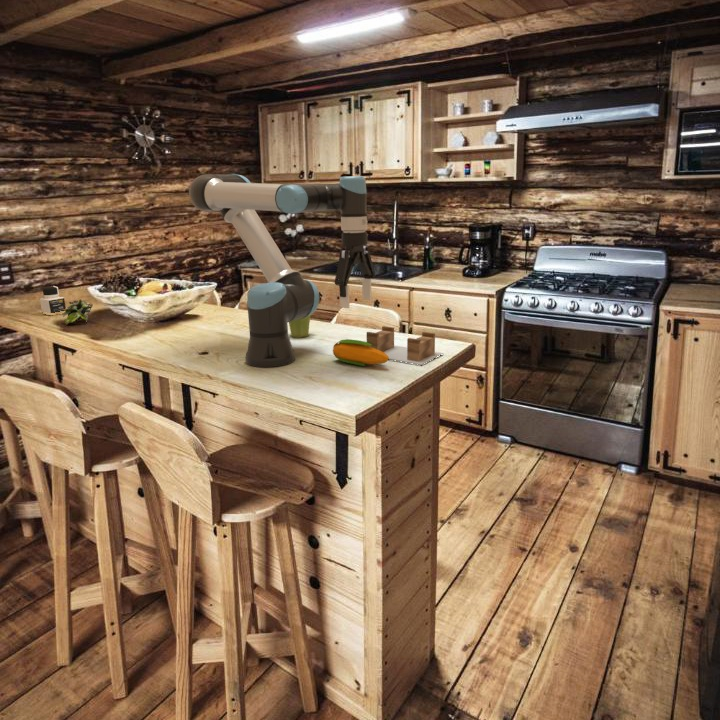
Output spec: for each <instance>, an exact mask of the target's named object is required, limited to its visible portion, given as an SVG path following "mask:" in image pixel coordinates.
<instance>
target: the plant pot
mask: <svg viewBox="0 0 720 720" xmlns="http://www.w3.org/2000/svg"><path fill="white" fill-rule="evenodd" d="M311 317H312V314H311V315H309V316H307V317H305V318H302V319H297V320H294V321H291V322H288V327H289V332H290V335H291V337H293V338H298V339H299V338H303V337H308V336H309V330H310V321H311Z"/></svg>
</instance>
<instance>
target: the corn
mask: <svg viewBox="0 0 720 720" xmlns="http://www.w3.org/2000/svg"><path fill="white" fill-rule="evenodd" d="M371 345H372V344H370V343H368V342H367V341H365V340H364V341H363V340H357V339H348V338H346V339H341V340H339V341H337V342H336V343H334V345H333V347H332V354H333V355H334V357H335V358H336V359H338V360H339V361H341V362H343V363H345V362H346V364H351V365H356V366H359V367H360V366H361V367H367V365H381V364H385V363H387V362H388V361H389V360H388V358H389V357H388V355H387V354H385V353H384V352H382V351H380V350H377V349H375V348H372V347H369V346H371Z"/></svg>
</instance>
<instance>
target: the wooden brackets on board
mask: <svg viewBox="0 0 720 720" xmlns="http://www.w3.org/2000/svg"><path fill="white" fill-rule="evenodd" d="M381 327H382V328H381V330H379V331H377V332H371V331H367V332H366V342H368V343H370V344H372V345H371V346H369V347H372V348H375V349H377V350H380V351H382V352H384V351H386V350H389V349H391V348H394V345H395V327H394V326H393V327H392V326H385V325H383V326H381ZM406 341H407V346H406V347H407V360H413V361H421V360H423V359H425V358H427V357H429V356H431V355H433V354H435V352H436V351H435V350H436V342H435V341H436V333H435V332H428V331H422V332H421V336H418V337H417V338H413V337H408V338H407V339H406Z"/></svg>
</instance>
